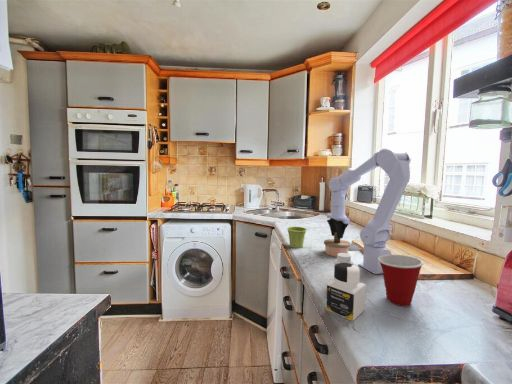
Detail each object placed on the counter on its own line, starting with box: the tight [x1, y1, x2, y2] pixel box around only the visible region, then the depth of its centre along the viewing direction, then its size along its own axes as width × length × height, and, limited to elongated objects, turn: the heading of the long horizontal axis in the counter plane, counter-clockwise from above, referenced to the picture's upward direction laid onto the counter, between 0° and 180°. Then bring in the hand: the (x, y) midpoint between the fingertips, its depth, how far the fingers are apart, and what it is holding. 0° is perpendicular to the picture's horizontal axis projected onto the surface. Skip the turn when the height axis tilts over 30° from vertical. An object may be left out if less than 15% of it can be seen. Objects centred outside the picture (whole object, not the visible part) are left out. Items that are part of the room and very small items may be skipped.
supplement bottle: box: [333, 253, 354, 267], centre depth 77 cm, size 6×6×10 cm
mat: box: [348, 243, 362, 252], centre depth 117 cm, size 12×12×1 cm
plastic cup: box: [378, 254, 424, 307], centre depth 69 cm, size 11×11×12 cm
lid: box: [323, 233, 352, 248], centre depth 107 cm, size 11×11×5 cm
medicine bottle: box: [326, 263, 366, 322], centre depth 64 cm, size 7×7×12 cm
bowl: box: [324, 244, 349, 258], centre depth 108 cm, size 9×9×4 cm
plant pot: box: [286, 226, 307, 249], centre depth 119 cm, size 9×9×9 cm
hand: (337, 237), depth 107 cm, fingers open, 4 cm apart
